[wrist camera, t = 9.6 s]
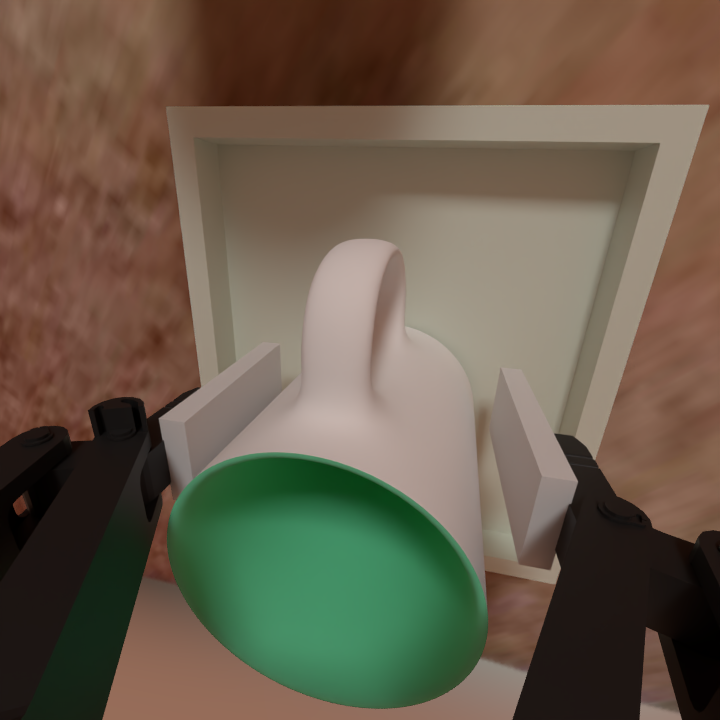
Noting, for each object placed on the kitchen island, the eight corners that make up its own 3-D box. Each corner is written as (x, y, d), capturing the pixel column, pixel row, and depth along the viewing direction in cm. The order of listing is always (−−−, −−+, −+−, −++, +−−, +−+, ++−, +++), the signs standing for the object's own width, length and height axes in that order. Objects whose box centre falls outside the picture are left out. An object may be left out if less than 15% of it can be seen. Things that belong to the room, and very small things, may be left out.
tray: (239, 489, 24) (217, 519, 22) (203, 120, 17) (165, 106, 14) (542, 543, 21) (555, 584, 19) (664, 122, 14) (709, 104, 11)
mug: (295, 234, 17) (85, 258, 7) (486, 228, 15) (529, 250, 6) (316, 463, 21) (198, 666, 12) (468, 481, 19) (475, 742, 10)
